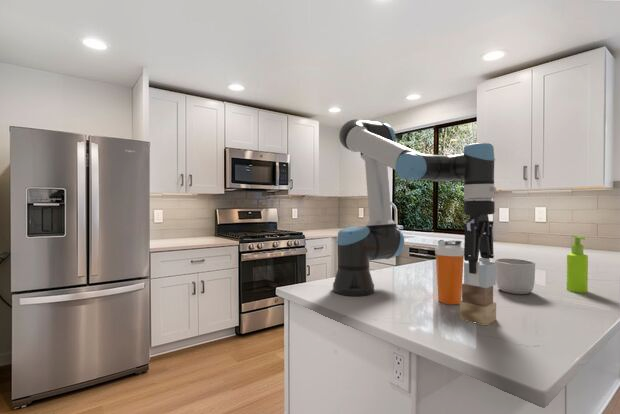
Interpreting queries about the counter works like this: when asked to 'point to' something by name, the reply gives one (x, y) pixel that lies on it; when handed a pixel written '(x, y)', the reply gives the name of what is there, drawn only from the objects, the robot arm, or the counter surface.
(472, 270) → the robot arm
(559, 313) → the counter surface
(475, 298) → the walnut block
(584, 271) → the soap dispenser
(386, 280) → the counter surface
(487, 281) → the grey-blue cube
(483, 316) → the oak block
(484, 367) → the counter surface
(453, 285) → the shaker bottle
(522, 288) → the planter
